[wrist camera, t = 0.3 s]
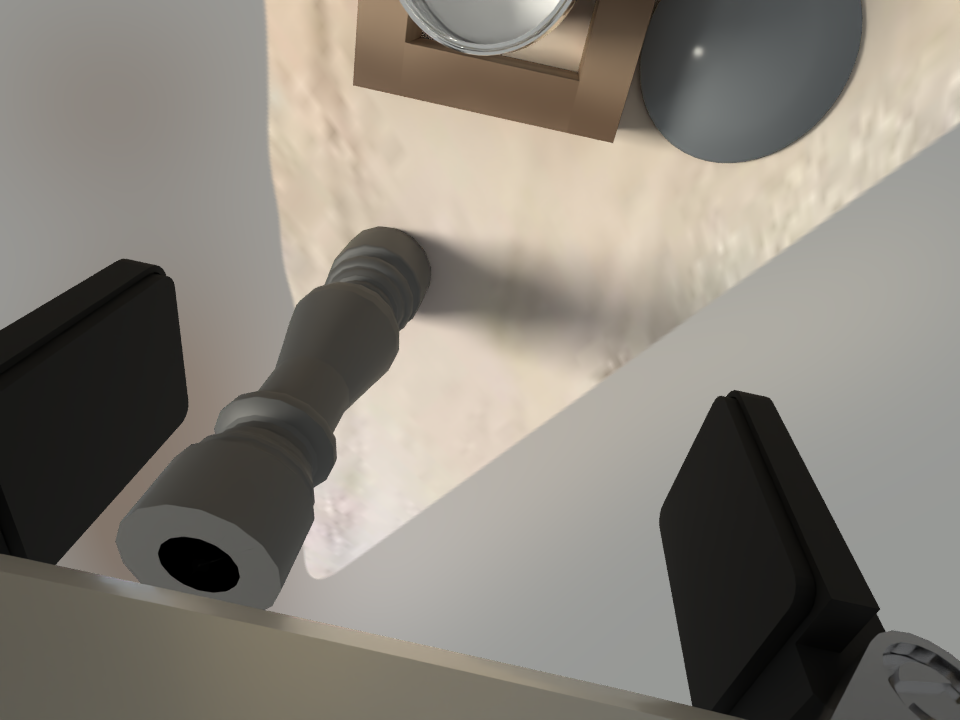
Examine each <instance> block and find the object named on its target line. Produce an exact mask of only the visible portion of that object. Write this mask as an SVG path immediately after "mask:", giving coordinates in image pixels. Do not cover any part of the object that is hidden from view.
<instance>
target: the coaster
mask: <svg viewBox="0 0 960 720" xmlns="http://www.w3.org/2000/svg"><path fill="white" fill-rule="evenodd" d="M861 34H862V8H861V0H660V1H659V3H658V5H657V7H656V9H655V11H654V13H653V15H652V17H651V19H650V22H649V24H648V27H647V31H646V34H645V37H644V41H643V45H642V49H641V57H640V84H641V91H642V95H643V99H644V103H645V106H646V108H647V111H648V113H649V115H650V117H651V119H652V121H653V122H654V124H655V126H656V127H657V129H658V130H659V131H660V132H661V134H662V135H663V136H664V137H665V138H666V139H667V140H668V141H669V142H670V143H671V144H672V145H674V146H675V147H677V148H678V149H680V150H681V151H683V152H684V153H686V154H689V155H691V156H693V157H695V158H698V159H702V160H705V161H710V162H717V163H736V162H745V161H749V160H754V159H758V158H761V157H764V156H766V155H769V154H772V153H774V152H776V151H778V150H780V149H782V148H784V147H786V146H788V145H789V144H791V143H792V142H794V141H795V140H797V139H798V138H800V137H801V136H802V135H804V134H805V133H806V132H807V131H809V130H810V129H811V128H812V127H813V126H814V125H815V124H816V123H817V122H818V121H819V120H820V119H821V118H822V117H823V116H824V115H825V114H826V112H827V111H828V110H829V109H830V108H831V106H832V105H833V104H834V102H835V101H836V99H837V98H838V96H839V95H840V93H841V92H842V90H843V88H844V86H845V84H846V82H847V81H848V79H849V76H850V74H851V72H852V69H853V67H854V64H855V61H856V58H857V54H858V51H859V46H860V40H861Z"/></svg>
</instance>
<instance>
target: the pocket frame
mask: <svg viewBox="0 0 960 720" xmlns="http://www.w3.org/2000/svg"><path fill="white" fill-rule="evenodd" d="M655 1H656V0H596V2H595V6H594V10H593V14H592V18H591V22H590V26H589V30H588V34H587V38H586V42H585V46H584V50H583V54H582V58H581V62H580V66H579V70H578V72H574V71H569V70H565V69H560V68H556V67H551V66H547V65H542V64H538V63H533V62H529V61H524V60H520V59H515V58H511V57H506V56H502V55H490V56H481V55H471V54H466V53H462V52H459V51H456V50H453V49H451V48H448V47H446V46H444V45H442V44H441V43H439V42H437V41H434V40H430V39H425V38H421V34H422V29H421V28H420V27H419V26H418V25H417V24H416V23H415V22H414V21H413V20H412V19H411V17H410V16H409V15H408V14H407V12H406V11H405V9H404V8H403V6H402V5H401V3H400V1H399V0H358V14H357V30H356V47H355V63H354V79H353V85H355V86H359V87H364V88H368V89H373V90H377V91H382V92H386V93H391V94H395V95H400V96H404V97H409V98H413V99H418V100H422V101H427V102H431V103H435V104H440V105H444V106H449V107H453V108H458V109H462V110H467V111H471V112H476V113H480V114H485V115H489V116H494V117H498V118H503V119H507V120H512V121H516V122H521V123H525V124H530V125H534V126H539V127H543V128H548V129H552V130H557V131H561V132H566V133H570V134H575V135H579V136H584V137H588V138H593V139H597V140H602V141H606V142H611V143H613V141H614V138H615V135H616V131H617V128H618V124H619V121H620V118H621V114H622V111H623V108H624V104H625V101H626V98H627V94H628V91H629V88H630V84H631V81H632V78H633V74H634V71H635V68H636V64H637V61H638V57H639V54H640V51H641V47H642V44H643V41H644V37H645V34H646V31H647V27H648V24H649V21H650V17H651V14H652V11H653V7H654V4H655Z"/></svg>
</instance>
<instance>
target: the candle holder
mask: <svg viewBox="0 0 960 720" xmlns="http://www.w3.org/2000/svg"><path fill="white" fill-rule="evenodd" d="M430 273H431V267H430V264H429V261H428V259H427V256H426V253H425V251H424V250H423V249H422V248H421V246H420V245H419V244H418V243H417V242H416V241H415V240H414V238H413V237H411V236H409V235H407V234H405V233H403V232H401V231H400V230H398V229H394V228H386V227H375V228H371V229H368V230H364V231H362V232H361V233H359V234H358V235H357V236H356V237H355V238H354V239H352V240H351V241H350V242H349V243H348V245H347V246H346V247H345V248H344V249H343V250H342V252H341V253H340V254H339V255H338V256H337V257H336V259H335V260H334V263H333V265H332V267H331V270H330V272H329V275H328V278H327V280H326V283H325V285H323V286H320V287H317V288H315V289H314V290H312V291H311V292H310V293H309V294H308V295H306V296H305V297H304V298H303V299H302V300H300V302H299V303H298V304H297V305H296V308H295V310H294V313H293V316H292V318H291V321H290V324H289V326H288V329H287V333H286V336H285V339H284V343H283V346H282V349H281V352H280V355H279V358H278V361H277V364H276V368H275V370H274V371H273V372H272V374H271V375H270V376H269V377H268V379H267V380H266V381H265V383H264V384H263V385H262V386H261V388H260V389H259V390H258V391H256V392H251V393H247V394H242V395H240V396H238V397H237V398H236V399H235V400H234V401H232V402H231V403H230V404H228V405H227V406H226V407H224V408H223V409H222V411H221V412H220V414H219V417H218V419H217V422H216V425H215V428H214V430H215V434H214V435H210V436H207V437H206V438H204V439H203V440H202V441H201V442H199V443H196V444H191V445H190V446H189V447H187V448H186V449H185V450H184V451H182V452H181V453H180V454H178V455H177V456H176V457H175V458H174V459H173V460H172V461H171V463H170V464H169V465H168V466H167V467H166V469H164V471H163V472H162V473H161V474H160V475H159V477H158V478H157V479H156V480H155V481H154V483H153V484H152V485H151V486H150V487H149V489H148V490H147V491H146V492H145V493H144V495H143V496H142V497H141V498H140V499H139V501H138V502H137V503H136V504H135V505H134V506H133V508H132V509H131V510H130V511H129V513H128V514H127V515H126V516H125V517H124V519H123V520H122V521H121V522H120V526H119V529H118V533H117V537H116V544H117V547H118V550H119V552H120V555H121V558H122V561H123V563H124V564H125V566H126V567H127V568H128V569H129V570H130V571H131V572H132V574H133V575H134V576H135V577H136V578H137V579H138V580H139V582H140V583H141V584H146V585H150V586H155V587H160V588H165V589H169V590H174V591H179V592H183V593H188V594H193V595H197V596H202V597H207V598H211V599H216V600H220V601H225V602H230V603H234V604H239V605H243V606H248V607H253V608H257V609H262V610H265V609H267V608H269V607H271V606H272V605H273V604H274V601H275V600H276V598H277V596H278V595H279V593H280V591H281V589H282V587H283V585H284V583H285V580H286V578H287V576H288V574H289V572H290V570H291V568H292V566H293V564H294V561H295V559H296V557H297V555H298V553H299V551H300V549H301V547H302V545H303V542H304V540H305V538H306V536H307V534H308V532H309V530H310V528H311V526H312V523H313V521H314V509H313V505H314V503H315V500H314V487H315V486H317V485H319V484H320V483H322V482H324V481H325V480H326V479H327V477H328V475H329V474H330V472H331V470H332V468H333V466H334V464H335V462H336V459H337V453H336V438H335V436H334V434H333V432H334V430H335V428H336V426H337V424H338V423H339V421H340V419H341V417H342V415H343V413H344V412H345V411H346V410H347V409H348V408H349V407H350V406H351V405H352V404H353V403H354V402H355V401H356V400H357V399H358V398H359V397H360V396H362V395H363V394H364V393H365V392H366V391H367V390H368V389H369V388H370V387H371V386H372V385H373V384H374V383H375V382H376V381H378V380H379V379H380V378H381V377H382V376H383V375H384V374H385V373H386V372H387V371H388V370H389V368H390V366H391V364H392V362H393V361H394V359H395V357H396V355H397V353H398V351H399V331H400V330H401V329H403V328H404V327H405V326H406V324H407V322H409V321H410V320H411V319H413V317H414V315H415V313H416V312H417V310H418V308H419V306H420V304H421V302H422V300H423V298H424V295H425V293H426V291H427V289H428V287H429V284H430Z"/></svg>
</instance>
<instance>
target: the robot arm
mask: <svg viewBox="0 0 960 720" xmlns="http://www.w3.org/2000/svg"><path fill="white" fill-rule="evenodd" d="M187 411H188V395H187V386H186V378H185V369H184V361H183V352H182V344H181V335H180V326H179V318H178V310H177V301H176V292H175V286H174V282H173V280H172V279H171V278H170V277H168V276H166V274H165V272H164V270H163V269H162V268H161V267H160V266H157V265H152V264H148V263H143V262H138V261H134V260H129V259H121V260H118V261H116V262H114V263H113V264H111V265H109V266H108V267H106V268H104V269H103V270H101V271H99V272H98V273H96V274H94V275H93V276H91V277H89V278H88V279H86V280H85V281H83V282H81V283H79V284H78V285H76V286H74V287H72V288H71V289H69V290H67V291H66V292H64V293H62V294H61V295H59V296H57V297H56V298H54V299H52V300H51V301H49V302H47V303H46V304H44V305H42V306H40V307H39V308H37V309H36V310H34V311H32V312H30V313H29V314H27V315H25V316H24V317H22V318H20V319H19V320H17V321H15V322H14V323H12V324H10V325H9V326H7V327H5V328H3V329H2V330H0V720H960V661H959V660H958V659H956V658H955V657H954V656H953V655H951V654H950V653H949V652H947V651H945V650H944V649H942V648H940V647H939V646H937V645H935V644H934V643H932V642H930V641H928V640H925V639H923V638H921V637H918V636H916V635H913V634H911V633H906V632H899V631H888V632H885V630H884V628H883V626H882V624H881V622H880V620H879V618H878V616H877V614H876V613H877V612H878V611H879V610H880V608H879V606H878V604H877V602H876V600H875V598H874V597H873V595H872V593H871V591H870V589H869V587H868V585H867V583H866V581H865V579H864V577H863V575H862V573H861V571H860V570H859V568H858V566H857V564H856V562H855V560H854V558H853V556H852V554H851V552H850V550H849V548H848V546H847V545H846V543H845V541H844V539H843V537H842V535H841V533H840V531H839V529H838V527H837V525H836V523H835V521H834V520H833V517H832V516H831V514H830V512H829V510H828V508H827V506H826V504H825V502H824V500H823V498H822V496H821V494H820V492H819V491H818V488H817V487H816V485H815V483H814V481H813V479H812V477H811V475H810V473H809V471H808V469H807V467H806V465H805V463H804V462H803V460H802V458H801V456H800V454H799V452H798V450H797V448H796V446H795V444H794V442H793V440H792V439H791V436H790V435H789V433H788V431H787V429H786V427H785V425H784V423H783V421H782V419H781V417H780V415H779V413H778V412H777V410H776V408H775V406H774V404H773V402H772V400H771V399H770V398H768V397H765V396H759V395H755V394H751V393H746V392H741V391H736V390H734V391H731V392H730V393H729V394H728V395H727V396H726V397H724V396H719V397H717V398H716V399H715V401H714V403H713V404H712V407H711V408H710V411H709V412H708V415H707V416H706V418H705V420H704V423H703V425H702V427H701V429H700V431H699V433H698V435H697V437H696V439H695V441H694V443H693V445H692V447H691V449H690V451H689V453H688V455H687V457H686V459H685V461H684V463H683V465H682V467H681V469H680V471H679V473H678V475H677V477H676V479H675V481H674V483H673V485H672V487H671V489H670V491H669V493H668V496H667V497H666V499H665V501H664V504H663V506H662V508H661V512H660V518H659V526H660V532H661V538H662V543H663V548H664V554H665V560H666V565H667V570H668V576H669V581H670V587H671V592H672V597H673V603H674V608H675V614H676V619H677V624H678V630H679V636H680V641H681V647H682V652H683V657H684V663H685V669H686V674H687V679H688V684H689V690H690V696H691V701H692V706H688V705H684V704H680V703H676V702H672V701H668V700H664V699H659V698H655V697H651V696H647V695H643V694H639V693H635V692H631V691H626V690H622V689H617V688H613V687H609V686H604V685H599V684H595V683H591V682H586V681H582V680H577V679H573V678H568V677H563V676H559V675H555V674H551V673H546V672H542V671H537V670H533V669H528V668H524V667H520V666H515V665H511V664H506V663H501V662H497V661H493V660H488V659H484V658H479V657H475V656H471V655H466V654H462V653H457V652H453V651H448V650H444V649H439V648H435V647H430V646H426V645H421V644H417V643H412V642H407V641H403V640H399V639H394V638H389V637H385V636H380V635H376V634H371V633H366V632H362V631H357V630H353V629H349V628H344V627H339V626H334V625H330V624H326V623H321V622H317V621H312V620H307V619H302V618H298V617H294V616H289V615H285V614H280V613H275V612H271V611H266V610H262V609H257V608H253V607H248V606H243V605H239V604H234V603H230V602H225V601H220V600H216V599H211V598H207V597H202V596H197V595H193V594H188V593H183V592H179V591H174V590H169V589H165V588H160V587H155V586H150V585H146V584H141V583H136V582H132V581H127V580H122V579H117V578H113V577H108V576H103V575H99V574H94V573H90V572H85V571H80V570H75V569H71V568H66V567H61V566H57V565H56V564H57V562H58V561H59V560H60V559H61V558H62V557H63V556H64V555H65V554H66V552H67V551H68V550H69V549H70V548H71V547H72V546H73V545H74V543H75V542H76V541H77V540H78V539H79V538H80V537H81V536H82V534H83V533H84V532H85V531H86V530H87V529H88V528H89V527H90V526H91V524H92V523H93V522H94V521H95V520H96V519H97V518H98V517H99V515H100V514H101V513H102V512H103V511H104V510H105V509H106V508H107V506H108V505H109V504H110V503H111V502H112V501H113V500H114V499H115V497H116V496H117V495H118V494H119V493H120V492H121V491H122V490H123V489H124V487H125V486H126V485H127V484H128V483H129V482H130V481H131V480H132V478H133V477H134V476H135V475H136V474H137V473H138V472H139V470H140V469H141V468H142V467H143V466H144V465H145V464H146V463H147V462H148V460H149V459H150V458H151V457H152V456H153V455H154V454H155V453H156V451H157V450H158V449H159V448H160V447H161V446H162V445H163V443H164V442H165V441H166V440H167V439H168V438H169V437H170V436H171V435H172V433H173V432H174V431H175V430H176V429H177V428H178V427H179V426H180V425H181V423H182V422H183V421H184V418H185V417H186V414H187Z"/></svg>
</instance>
